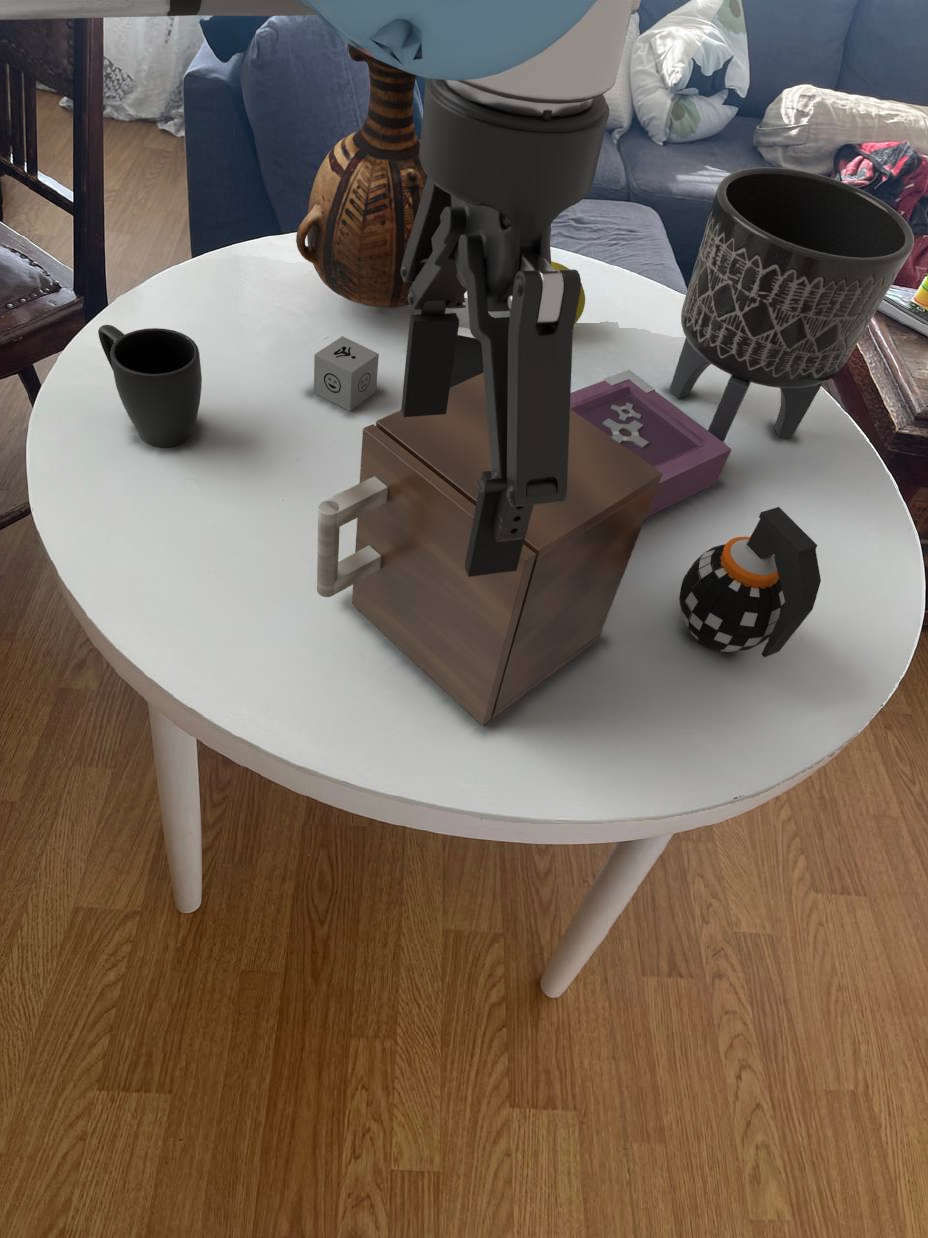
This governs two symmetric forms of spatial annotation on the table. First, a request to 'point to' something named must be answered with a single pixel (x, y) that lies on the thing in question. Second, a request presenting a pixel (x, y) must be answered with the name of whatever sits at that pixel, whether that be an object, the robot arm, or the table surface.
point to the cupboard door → (422, 573)
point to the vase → (368, 196)
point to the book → (654, 435)
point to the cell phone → (466, 357)
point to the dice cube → (345, 373)
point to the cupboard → (546, 528)
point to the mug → (156, 381)
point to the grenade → (752, 587)
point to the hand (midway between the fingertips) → (454, 484)
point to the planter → (785, 286)
